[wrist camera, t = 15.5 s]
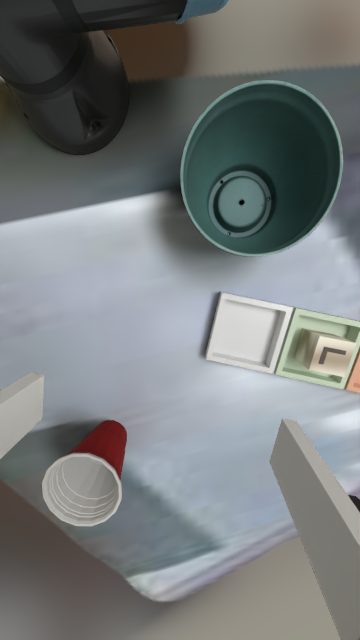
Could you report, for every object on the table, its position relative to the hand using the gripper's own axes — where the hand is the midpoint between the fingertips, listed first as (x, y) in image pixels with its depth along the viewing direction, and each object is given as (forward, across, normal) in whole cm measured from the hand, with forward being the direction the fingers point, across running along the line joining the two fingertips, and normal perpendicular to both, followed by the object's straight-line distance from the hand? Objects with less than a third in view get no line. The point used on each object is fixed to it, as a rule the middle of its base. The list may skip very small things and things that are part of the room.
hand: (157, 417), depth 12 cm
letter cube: (+25, +21, 0) cm, 33 cm away
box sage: (+25, +21, 0) cm, 33 cm away
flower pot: (+26, +6, +18) cm, 32 cm away
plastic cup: (+25, -9, -23) cm, 35 cm away
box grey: (+25, +10, 0) cm, 27 cm away
